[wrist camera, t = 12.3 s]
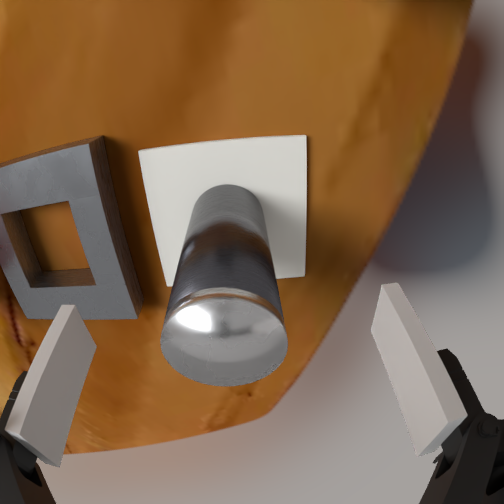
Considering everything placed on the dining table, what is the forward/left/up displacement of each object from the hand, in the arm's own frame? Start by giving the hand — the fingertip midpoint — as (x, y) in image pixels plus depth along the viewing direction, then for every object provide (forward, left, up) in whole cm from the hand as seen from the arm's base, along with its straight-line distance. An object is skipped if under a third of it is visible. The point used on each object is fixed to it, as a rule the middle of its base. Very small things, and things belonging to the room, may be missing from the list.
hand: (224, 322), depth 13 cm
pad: (0, 0, -11) cm, 11 cm away
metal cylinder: (0, 0, -11) cm, 11 cm away
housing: (0, -14, -11) cm, 18 cm away
